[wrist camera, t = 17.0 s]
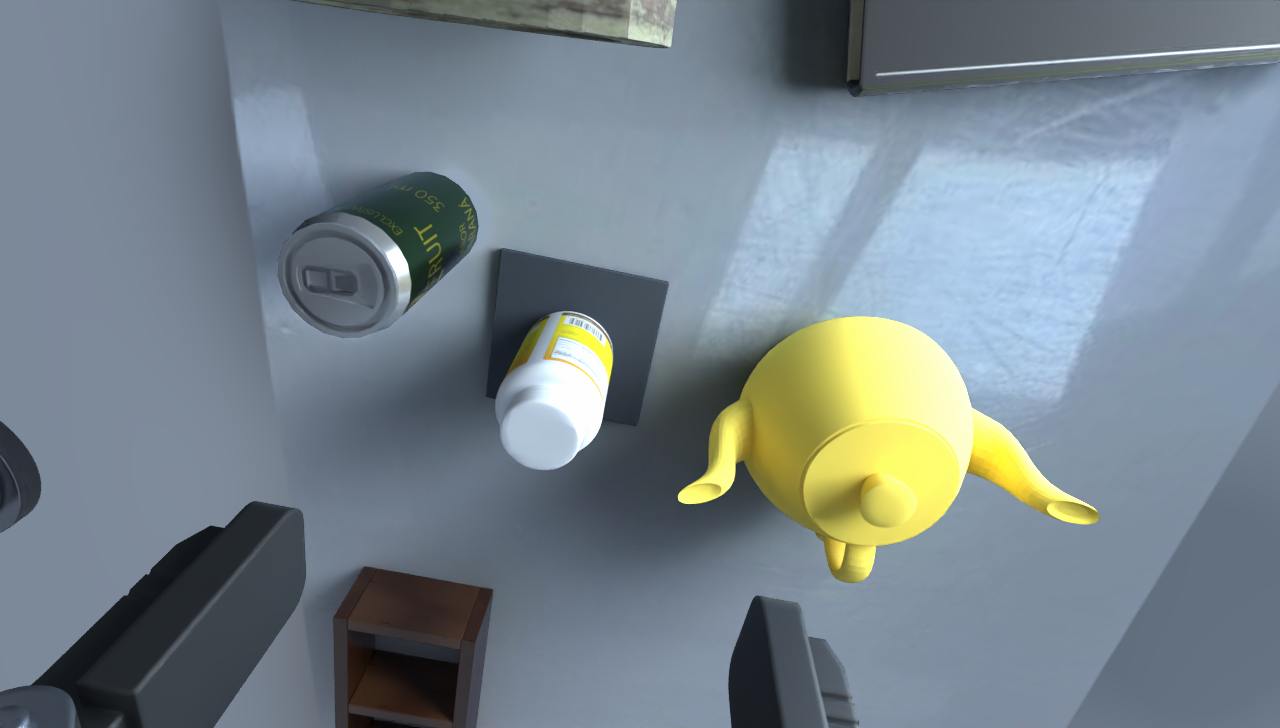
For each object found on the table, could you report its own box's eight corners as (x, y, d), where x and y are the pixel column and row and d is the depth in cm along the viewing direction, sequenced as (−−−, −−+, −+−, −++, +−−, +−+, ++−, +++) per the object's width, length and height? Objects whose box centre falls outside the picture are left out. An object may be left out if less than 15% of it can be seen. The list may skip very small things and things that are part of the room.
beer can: (392, 256, 38) (280, 335, 27) (386, 163, 36) (262, 209, 25) (481, 267, 38) (405, 350, 27) (482, 175, 36) (399, 226, 25)
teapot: (670, 493, 45) (669, 624, 34) (682, 290, 38) (685, 375, 28) (962, 508, 44) (1051, 646, 34) (1024, 303, 38) (1156, 396, 27)
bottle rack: (362, 725, 57) (336, 781, 53) (364, 565, 49) (332, 617, 45) (473, 744, 58) (456, 802, 53) (493, 589, 49) (475, 642, 45)
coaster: (487, 394, 42) (485, 397, 42) (502, 247, 38) (500, 249, 37) (637, 423, 42) (636, 426, 42) (669, 281, 38) (669, 283, 38)
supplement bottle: (534, 392, 41) (494, 488, 32) (518, 311, 39) (469, 390, 30) (620, 385, 41) (604, 481, 32) (609, 303, 38) (588, 380, 29)
